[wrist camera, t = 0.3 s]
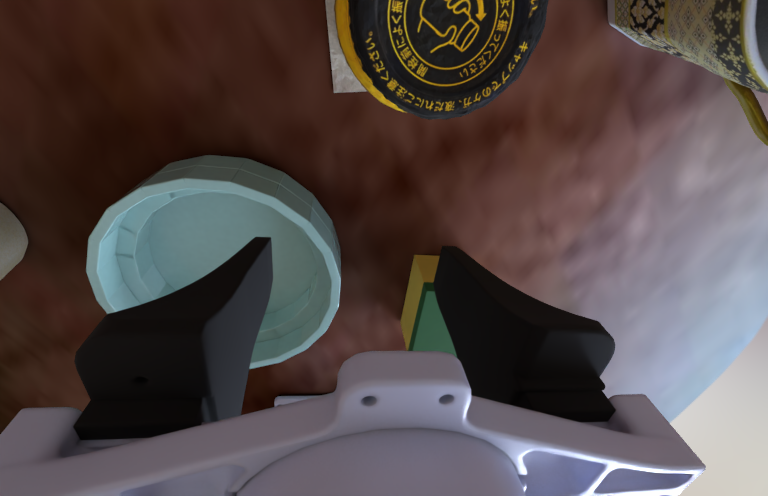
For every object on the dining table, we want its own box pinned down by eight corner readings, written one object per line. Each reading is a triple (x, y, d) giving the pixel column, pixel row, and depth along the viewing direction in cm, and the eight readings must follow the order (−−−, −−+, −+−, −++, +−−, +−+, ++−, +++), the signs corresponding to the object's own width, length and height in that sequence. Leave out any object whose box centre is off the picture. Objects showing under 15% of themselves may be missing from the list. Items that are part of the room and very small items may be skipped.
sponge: (449, 322, 31) (465, 363, 28) (400, 321, 31) (409, 363, 27) (469, 256, 28) (490, 293, 24) (414, 254, 27) (426, 290, 23)
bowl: (334, 326, 30) (333, 369, 26) (151, 323, 28) (122, 370, 24) (346, 163, 23) (348, 190, 19) (100, 141, 20) (46, 167, 17)
